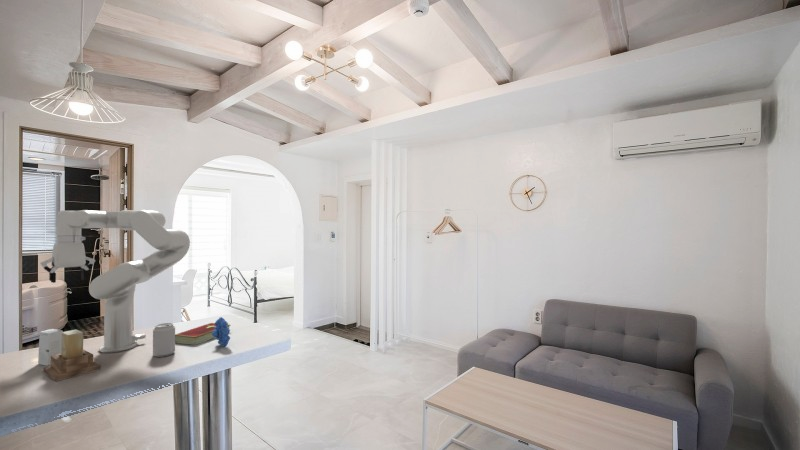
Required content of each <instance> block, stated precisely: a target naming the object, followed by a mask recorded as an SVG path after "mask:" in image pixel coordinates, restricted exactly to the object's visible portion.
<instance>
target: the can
mask: <svg viewBox="0 0 800 450" xmlns="http://www.w3.org/2000/svg"><path fill="white" fill-rule="evenodd" d="M175 334H176V327H175V325H174V323H172V322H162V323H159V324H158V323H157V324H155V326H154V328H153V329H152V355H153V356H155V357H156V358H163V357H164V358H165V357H169V356H171V355H172V354H173V353H174V352H175V351H176V342H175Z"/></svg>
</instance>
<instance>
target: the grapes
mask: <svg viewBox="0 0 800 450" xmlns="http://www.w3.org/2000/svg"><path fill="white" fill-rule="evenodd" d="M214 323H215V325H216V327H215V329H214V331H213V332H212V335H213V336H214V337H215V340H218V341H217V343H218V345H219V346H221V347H227V346H228V344H229V341H230V339H231V336H229V333H230V332H231V329H230V327H229V328H227V325H228V324H229V322H228V321H226V319H225V318H224V317H221V316H220V317H219V318H217V319H216V320H215V322H214Z"/></svg>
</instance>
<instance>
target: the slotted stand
mask: <svg viewBox="0 0 800 450" xmlns="http://www.w3.org/2000/svg"><path fill="white" fill-rule="evenodd" d="M101 366H102V365H101V364H99V363H97V362H96V361H94V354H93V353H91V352H89V351H87V350H86V349H84V348H83V356H80V357H75V358H71V359H67V360H64V359H63V358H61V354H57V355H52V356H51V365H49V366H45V367H43V368H42V373H44V374H45V375H46V376H48V377H49V378H50V379H51V380H53V381H54V382H58V381H62V380H65V379H70V378H74V377H78V376H82V375H84V374H89V373H92V372H97V371H99V370H101Z"/></svg>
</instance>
